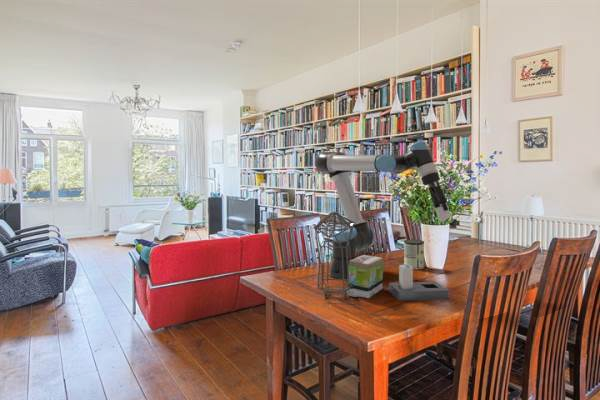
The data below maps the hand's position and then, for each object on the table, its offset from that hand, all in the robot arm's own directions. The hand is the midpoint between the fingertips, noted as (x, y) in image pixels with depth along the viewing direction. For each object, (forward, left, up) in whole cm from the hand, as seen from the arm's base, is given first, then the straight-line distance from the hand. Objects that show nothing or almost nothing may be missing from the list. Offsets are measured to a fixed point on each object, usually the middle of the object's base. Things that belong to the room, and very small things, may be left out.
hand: (446, 219), depth 164 cm
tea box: (-37, -5, -30) cm, 48 cm away
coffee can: (0, +36, -30) cm, 47 cm away
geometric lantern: (-50, -7, -30) cm, 59 cm away
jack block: (-17, -12, -30) cm, 37 cm away
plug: (-22, -12, -29) cm, 38 cm away
